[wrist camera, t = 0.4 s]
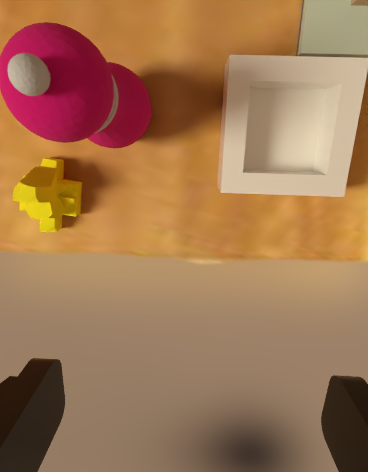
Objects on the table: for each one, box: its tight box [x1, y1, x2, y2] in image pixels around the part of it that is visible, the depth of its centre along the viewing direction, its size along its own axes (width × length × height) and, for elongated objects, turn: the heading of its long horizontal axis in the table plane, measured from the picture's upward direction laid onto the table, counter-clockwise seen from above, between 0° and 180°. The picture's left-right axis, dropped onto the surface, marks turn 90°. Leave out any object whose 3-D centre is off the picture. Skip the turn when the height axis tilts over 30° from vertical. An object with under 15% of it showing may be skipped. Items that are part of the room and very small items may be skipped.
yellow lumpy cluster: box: [12, 158, 82, 232], centre depth 32 cm, size 6×8×8 cm
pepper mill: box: [0, 22, 152, 148], centre depth 23 cm, size 7×7×20 cm
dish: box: [218, 55, 368, 197], centre depth 30 cm, size 12×12×4 cm
